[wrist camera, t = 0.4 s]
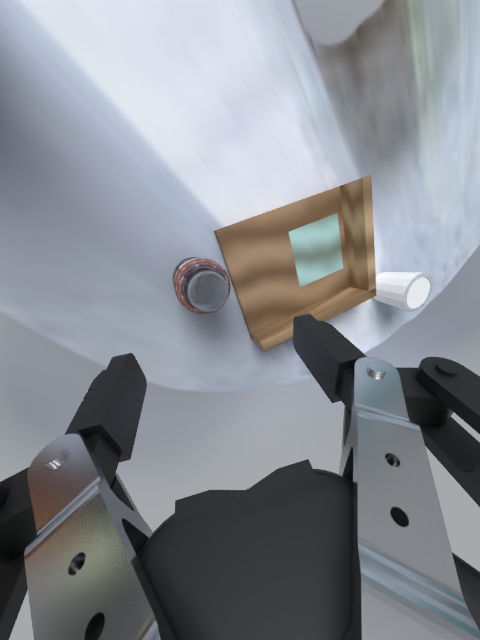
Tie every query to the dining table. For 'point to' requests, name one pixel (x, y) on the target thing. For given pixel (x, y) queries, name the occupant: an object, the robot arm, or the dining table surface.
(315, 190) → the dining table surface
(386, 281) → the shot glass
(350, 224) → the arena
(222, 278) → the supplement bottle
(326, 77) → the dining table surface
